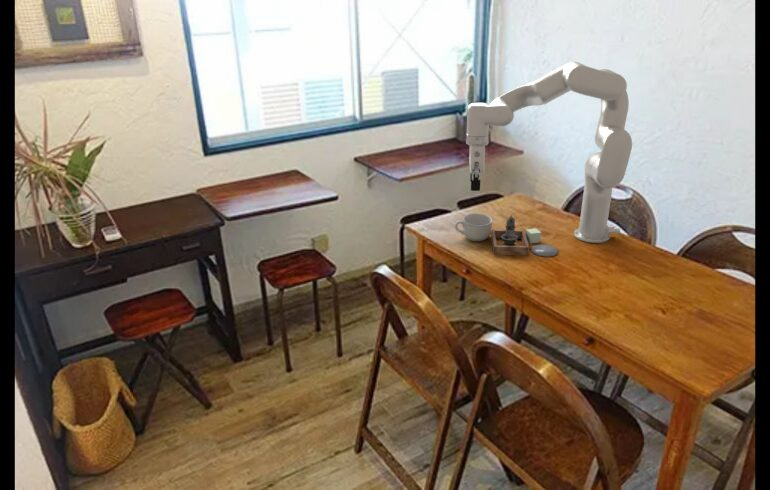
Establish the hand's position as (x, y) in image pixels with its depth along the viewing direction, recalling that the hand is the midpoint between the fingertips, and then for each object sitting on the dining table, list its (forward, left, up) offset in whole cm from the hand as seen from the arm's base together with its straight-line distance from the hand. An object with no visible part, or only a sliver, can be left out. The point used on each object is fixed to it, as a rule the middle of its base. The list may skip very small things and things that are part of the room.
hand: (474, 185), depth 206 cm
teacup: (0, 0, -21) cm, 21 cm away
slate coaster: (-25, +10, -21) cm, 34 cm away
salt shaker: (-13, +6, -21) cm, 25 cm away
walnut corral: (-13, +6, -21) cm, 25 cm away
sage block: (-22, +1, -21) cm, 30 cm away
